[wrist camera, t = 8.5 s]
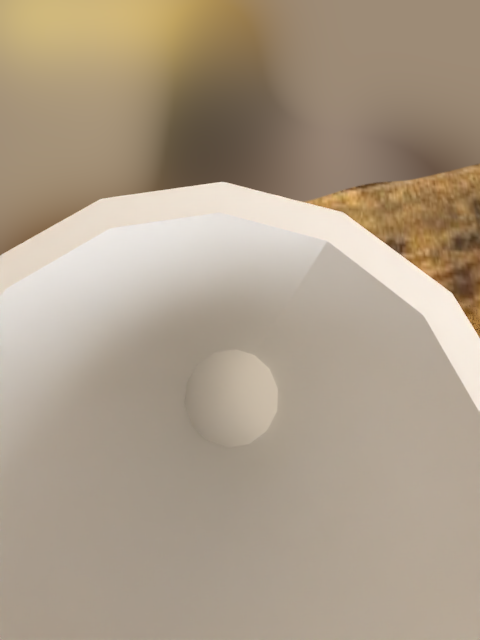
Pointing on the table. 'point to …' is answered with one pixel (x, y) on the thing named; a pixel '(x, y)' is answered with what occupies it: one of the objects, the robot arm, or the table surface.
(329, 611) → the foam cup
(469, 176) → the table surface
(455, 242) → the table surface
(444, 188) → the table surface
